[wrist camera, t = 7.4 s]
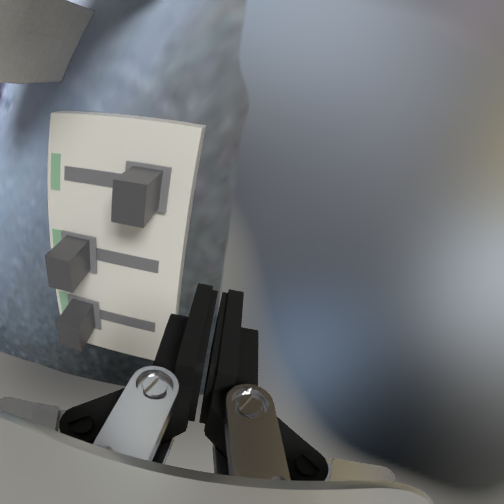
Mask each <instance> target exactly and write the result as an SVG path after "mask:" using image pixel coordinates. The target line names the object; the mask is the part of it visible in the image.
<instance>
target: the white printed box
mask: <svg viewBox="0 0 504 504" xmlns="http://www.w3.org/2000/svg"><path fill="white" fill-rule="evenodd" d="M94 13H95V11H92V10H90V9H87V8H85V7H82V6H80V5H77V4H74V3H72V2H69V1H66V0H0V82H1V83H16V84H25V83H39V82H61V81H62V79H63V76H64V74H65V72H66V69H67V67H68V65H69V62H70V60H71V58H72V56H73V54H74V51H75V49H76V47H77V45H78V43H79V41H80V39H81V37H82V35H83V33H84V31H85V29H86V27H87V25H88V23H89V22H90V20H91V18H92V16H93V14H94Z"/></svg>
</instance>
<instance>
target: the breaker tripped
mask: <svg viewBox="0 0 504 504" xmlns="http://www.w3.org/2000/svg"><path fill="white" fill-rule="evenodd" d="M171 172H172V167H166V166H160V165H154V164H147V163H141V162H134V161H126V169H125V172H123V173H122V174H120V175H119V176H117V177H116V178H114V179H113V188H112V207H111V222H114V223H119V224H124V225H130V226H135V227H140V228H144V227H145V226H146V224H147V223H148V222H149V220H150V219H151V218H152V216H153V215H154V214H155V212H161V213H166V210H167V202H168V194H169V186H170V179H171Z"/></svg>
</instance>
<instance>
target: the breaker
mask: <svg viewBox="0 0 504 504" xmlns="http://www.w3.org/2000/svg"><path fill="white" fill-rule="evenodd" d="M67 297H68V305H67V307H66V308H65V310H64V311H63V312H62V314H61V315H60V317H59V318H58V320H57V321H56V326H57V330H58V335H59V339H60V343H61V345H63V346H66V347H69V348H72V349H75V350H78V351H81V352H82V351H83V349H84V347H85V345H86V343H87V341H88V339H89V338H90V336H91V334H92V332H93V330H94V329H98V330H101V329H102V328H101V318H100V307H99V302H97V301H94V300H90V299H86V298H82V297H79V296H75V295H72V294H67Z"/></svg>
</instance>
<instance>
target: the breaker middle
mask: <svg viewBox="0 0 504 504" xmlns="http://www.w3.org/2000/svg"><path fill="white" fill-rule="evenodd" d="M61 237H62V240H61V241H60V242H59V243H58V244H57V245H55V246H54V247H53V248H52V249H51V250H50V251H49V252H48V253H47V254H46V255H45V260H46V268H47V275H48V282H49V287H52V288H56V289H59V290H63V291H66V292H70V293H73V292H74V290H75V289H76V288H77V286H78V285H79V284H80V283H81V281H82V280H83V279H84V277H85V276H86V275H87V273H88V272H91V273H96V274H97V252H96V237H93V236H88V235H84V234H79V233H74V232H69V231H65V230H62V231H61Z"/></svg>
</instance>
